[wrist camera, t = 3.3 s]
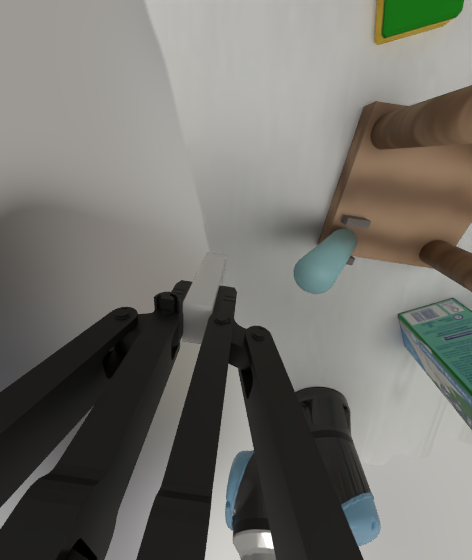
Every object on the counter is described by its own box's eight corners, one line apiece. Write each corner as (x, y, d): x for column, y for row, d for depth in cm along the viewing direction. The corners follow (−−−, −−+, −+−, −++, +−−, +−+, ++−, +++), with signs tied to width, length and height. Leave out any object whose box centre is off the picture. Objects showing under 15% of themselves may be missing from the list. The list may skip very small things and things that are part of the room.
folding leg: (351, 258, 30) (326, 299, 20) (325, 249, 32) (289, 284, 21) (362, 232, 28) (341, 263, 18) (334, 225, 30) (299, 249, 19)
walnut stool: (423, 265, 36) (573, 359, 19) (316, 248, 36) (370, 328, 19) (508, 129, 27) (936, 81, 10) (364, 106, 27) (549, 20, 10)
